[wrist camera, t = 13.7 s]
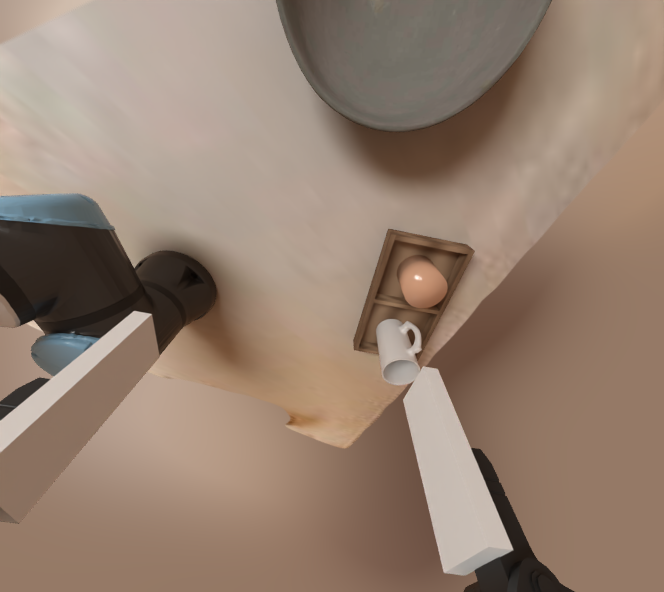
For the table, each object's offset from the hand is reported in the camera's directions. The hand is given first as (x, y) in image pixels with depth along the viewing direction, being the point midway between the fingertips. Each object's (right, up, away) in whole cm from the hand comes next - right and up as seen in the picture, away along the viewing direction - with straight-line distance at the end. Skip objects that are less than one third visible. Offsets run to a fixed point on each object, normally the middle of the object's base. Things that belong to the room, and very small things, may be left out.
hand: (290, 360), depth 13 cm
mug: (+16, -3, +42) cm, 45 cm away
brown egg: (+18, +8, +35) cm, 40 cm away
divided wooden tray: (+17, +3, +39) cm, 43 cm away
